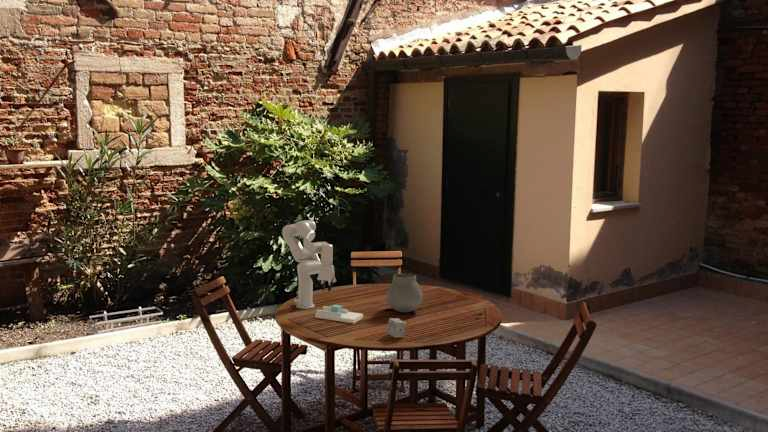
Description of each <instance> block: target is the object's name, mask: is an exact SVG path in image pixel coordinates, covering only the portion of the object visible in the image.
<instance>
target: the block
mask: <svg viewBox="0 0 768 432" xmlns="http://www.w3.org/2000/svg"><path fill="white" fill-rule="evenodd" d="M330 307H331V312H337V313H342V309H343V308H342V307H343V306H342V304H341V305H340V304H333V305H331V306H330Z"/></svg>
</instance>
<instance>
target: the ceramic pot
mask: <svg viewBox="0 0 768 432" xmlns="http://www.w3.org/2000/svg"><path fill="white" fill-rule="evenodd" d="M392 277H393V278H392V282H391V283H390V284H389V286H388V288H387V291H386V293H385V295H386V301H387V303H388V304H389V306H390V307H392V309H393V310H395V311H396V312H400V313H411V312H413V311H414V310H416V309H417V308H418V307H419V306H420V305H421V303H422V302H423V292H422V288H421V286H420V285H419V283H418V282H417V275H415V274H408V273H395V274H393V276H392Z"/></svg>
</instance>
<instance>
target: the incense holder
mask: <svg viewBox="0 0 768 432" xmlns="http://www.w3.org/2000/svg"><path fill="white" fill-rule="evenodd" d="M407 325H408V324H407V322H406V321H403V320H402V319H400V318H392V317H389V319H388V323H387V330H386V334H387V335H389V336H390V338H395V339H397V338H400V339H405V338H406V335H405V328H406V327H407Z"/></svg>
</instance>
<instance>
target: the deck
mask: <svg viewBox="0 0 768 432" xmlns="http://www.w3.org/2000/svg"><path fill="white" fill-rule="evenodd" d="M322 307H323V308H322V309H316V313H314V318H317V319H322V320H329V321H330V320H331V321H335V322H336V321H337V322H343V323H349V324H356V323H357V322H359V321H360V320H362V319H363V318H364V313H360V312H352V311H349V309H345V308H342V313H337V312H331V306H326V305H325V306H324V305H323V306H322Z"/></svg>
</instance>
